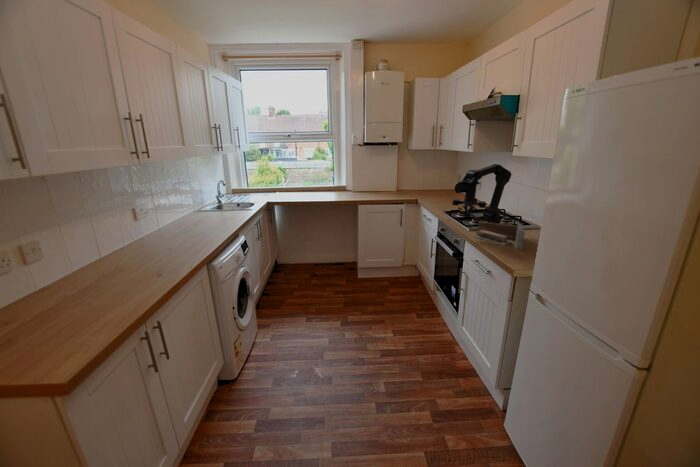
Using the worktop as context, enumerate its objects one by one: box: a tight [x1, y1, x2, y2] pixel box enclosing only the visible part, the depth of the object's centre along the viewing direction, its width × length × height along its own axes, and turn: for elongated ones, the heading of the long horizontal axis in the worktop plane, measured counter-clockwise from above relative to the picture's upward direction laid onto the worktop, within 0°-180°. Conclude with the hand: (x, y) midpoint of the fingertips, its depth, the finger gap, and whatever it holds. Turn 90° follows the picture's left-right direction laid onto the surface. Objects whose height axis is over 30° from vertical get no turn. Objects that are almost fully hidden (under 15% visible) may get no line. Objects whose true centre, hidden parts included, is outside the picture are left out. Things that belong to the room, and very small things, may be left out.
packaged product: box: [474, 230, 513, 247], centre depth 180 cm, size 18×5×10 cm
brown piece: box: [476, 221, 526, 251], centre depth 177 cm, size 21×24×10 cm
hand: (467, 217), depth 185 cm, fingers closed
